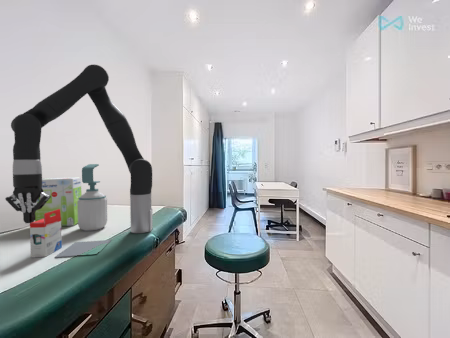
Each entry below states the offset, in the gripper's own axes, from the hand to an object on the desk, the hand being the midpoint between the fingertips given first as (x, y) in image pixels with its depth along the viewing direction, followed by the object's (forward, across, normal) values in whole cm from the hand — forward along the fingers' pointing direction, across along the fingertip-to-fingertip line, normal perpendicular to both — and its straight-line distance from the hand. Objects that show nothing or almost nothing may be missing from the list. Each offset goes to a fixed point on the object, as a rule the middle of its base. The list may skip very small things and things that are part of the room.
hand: (29, 222), depth 76 cm
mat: (+11, -17, -1) cm, 20 cm away
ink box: (+11, -5, 0) cm, 12 cm away
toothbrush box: (+11, +11, -40) cm, 43 cm away
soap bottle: (+11, -9, -29) cm, 32 cm away
